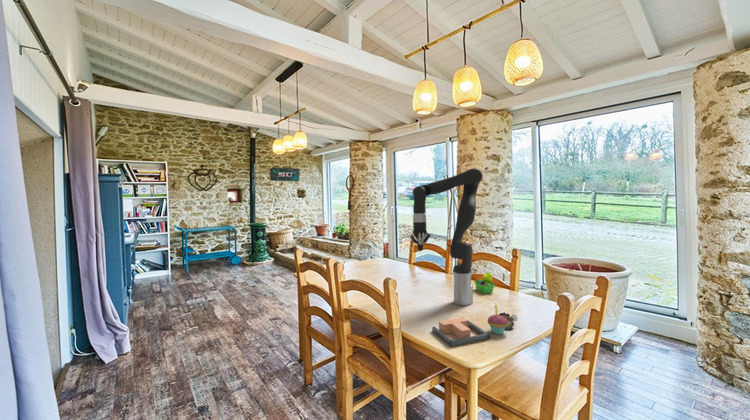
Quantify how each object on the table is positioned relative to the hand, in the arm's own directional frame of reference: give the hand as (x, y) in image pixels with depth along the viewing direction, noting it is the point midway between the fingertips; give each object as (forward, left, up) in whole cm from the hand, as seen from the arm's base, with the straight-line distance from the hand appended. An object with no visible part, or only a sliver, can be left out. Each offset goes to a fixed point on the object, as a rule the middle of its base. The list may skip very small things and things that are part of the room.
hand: (420, 250), depth 186 cm
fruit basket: (-40, +6, -27) cm, 49 cm away
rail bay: (+7, +50, -27) cm, 57 cm away
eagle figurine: (-17, +51, -27) cm, 60 cm away
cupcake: (-10, +54, -27) cm, 61 cm away
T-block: (+7, +49, -27) cm, 56 cm away
